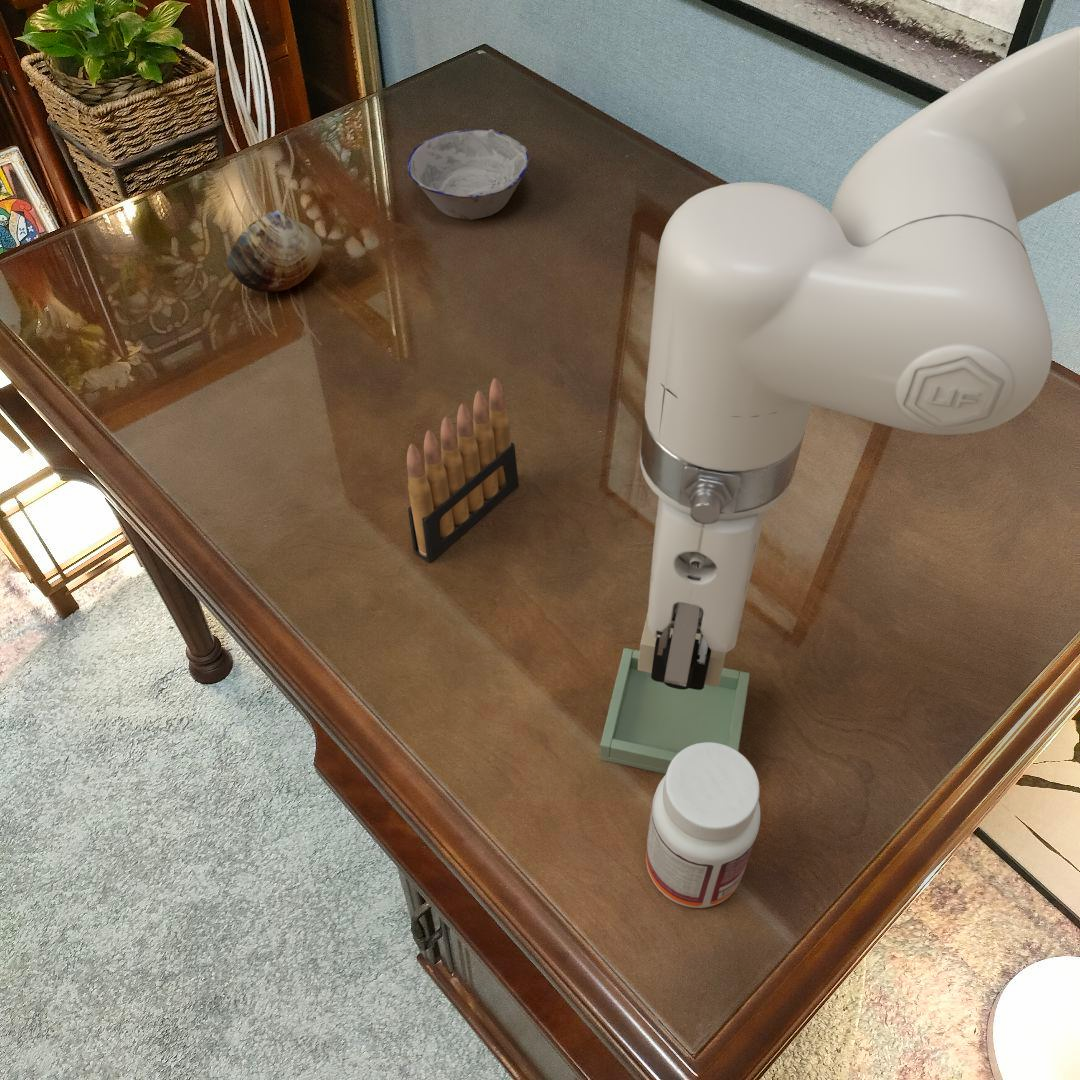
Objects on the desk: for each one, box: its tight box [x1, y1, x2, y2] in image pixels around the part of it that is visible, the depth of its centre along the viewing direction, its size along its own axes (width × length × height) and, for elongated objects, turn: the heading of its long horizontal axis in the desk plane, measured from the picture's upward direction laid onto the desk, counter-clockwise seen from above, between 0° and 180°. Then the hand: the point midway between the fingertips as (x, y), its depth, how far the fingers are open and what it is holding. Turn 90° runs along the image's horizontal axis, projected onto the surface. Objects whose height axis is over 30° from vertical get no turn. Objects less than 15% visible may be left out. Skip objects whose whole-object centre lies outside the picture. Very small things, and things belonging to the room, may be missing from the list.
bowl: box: [406, 128, 530, 221], centre depth 110 cm, size 13×13×5 cm
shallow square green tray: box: [599, 647, 751, 775], centre depth 70 cm, size 9×8×2 cm
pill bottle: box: [645, 742, 761, 909], centre depth 60 cm, size 6×6×11 cm
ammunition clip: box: [406, 376, 520, 563], centre depth 78 cm, size 11×2×12 cm, turn 140°
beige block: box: [638, 612, 727, 687], centre depth 62 cm, size 5×4×3 cm
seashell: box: [226, 209, 323, 293], centre depth 99 cm, size 10×6×8 cm, turn 125°
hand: (684, 647), depth 63 cm, fingers closed on beige block, 4 cm apart
